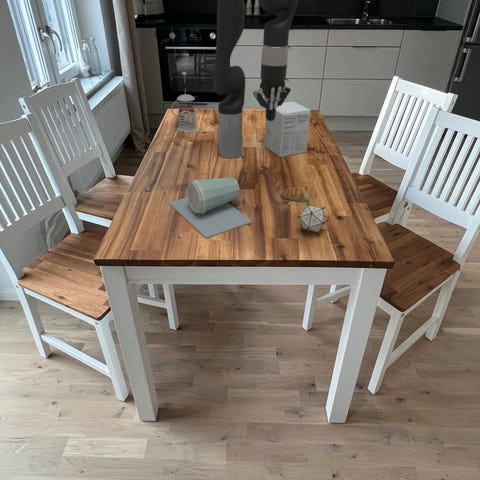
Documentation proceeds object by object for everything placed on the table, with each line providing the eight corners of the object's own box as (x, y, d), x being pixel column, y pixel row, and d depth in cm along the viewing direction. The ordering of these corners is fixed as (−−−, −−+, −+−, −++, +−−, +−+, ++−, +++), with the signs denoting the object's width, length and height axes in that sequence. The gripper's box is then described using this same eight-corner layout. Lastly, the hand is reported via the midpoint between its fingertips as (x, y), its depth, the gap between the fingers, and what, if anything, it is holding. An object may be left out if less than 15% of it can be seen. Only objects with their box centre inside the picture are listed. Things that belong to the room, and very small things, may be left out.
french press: (197, 132, 189) (194, 74, 175) (171, 131, 189) (166, 74, 175) (199, 125, 197) (196, 69, 183) (174, 124, 197) (170, 69, 183)
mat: (168, 203, 134) (168, 202, 133) (211, 191, 141) (211, 190, 141) (206, 238, 117) (206, 237, 117) (252, 222, 125) (252, 221, 124)
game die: (303, 238, 124) (292, 207, 124) (331, 229, 123) (320, 197, 123) (305, 241, 115) (293, 207, 115) (334, 231, 114) (322, 196, 114)
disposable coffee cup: (226, 169, 134) (182, 178, 128) (241, 173, 125) (195, 183, 119) (230, 200, 137) (188, 211, 131) (245, 207, 128) (201, 218, 122)
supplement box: (307, 152, 170) (311, 109, 161) (279, 157, 166) (282, 114, 156) (290, 141, 180) (293, 100, 170) (263, 146, 175) (265, 104, 166)
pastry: (280, 201, 136) (281, 191, 134) (281, 192, 142) (282, 182, 139) (309, 203, 135) (311, 192, 133) (309, 193, 141) (310, 183, 139)
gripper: (284, 56, 126) (279, 113, 136) (248, 61, 120) (246, 120, 130) (300, 62, 121) (294, 120, 131) (263, 67, 115) (259, 127, 125)
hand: (270, 120), depth 130 cm, fingers closed
